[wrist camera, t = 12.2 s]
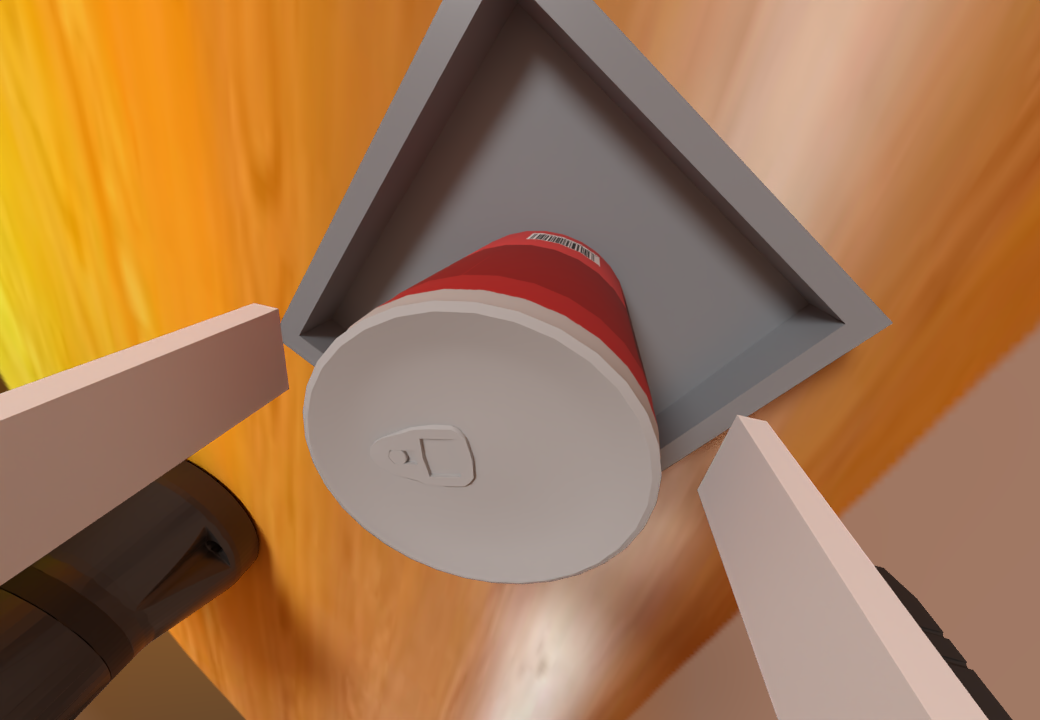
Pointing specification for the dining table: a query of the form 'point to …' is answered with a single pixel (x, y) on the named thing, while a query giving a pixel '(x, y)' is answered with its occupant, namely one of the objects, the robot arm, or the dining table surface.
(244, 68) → the dining table surface
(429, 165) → the tray
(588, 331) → the canned food
